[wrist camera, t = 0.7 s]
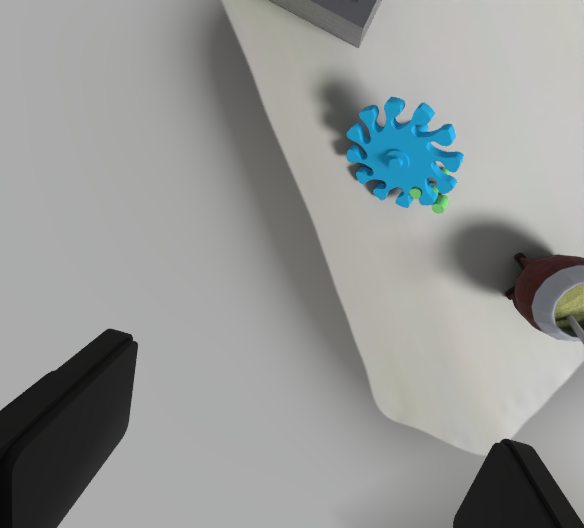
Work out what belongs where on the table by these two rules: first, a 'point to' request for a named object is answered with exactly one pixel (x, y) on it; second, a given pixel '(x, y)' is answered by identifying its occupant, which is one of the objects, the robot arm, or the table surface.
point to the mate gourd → (551, 295)
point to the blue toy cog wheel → (405, 155)
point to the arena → (336, 15)
